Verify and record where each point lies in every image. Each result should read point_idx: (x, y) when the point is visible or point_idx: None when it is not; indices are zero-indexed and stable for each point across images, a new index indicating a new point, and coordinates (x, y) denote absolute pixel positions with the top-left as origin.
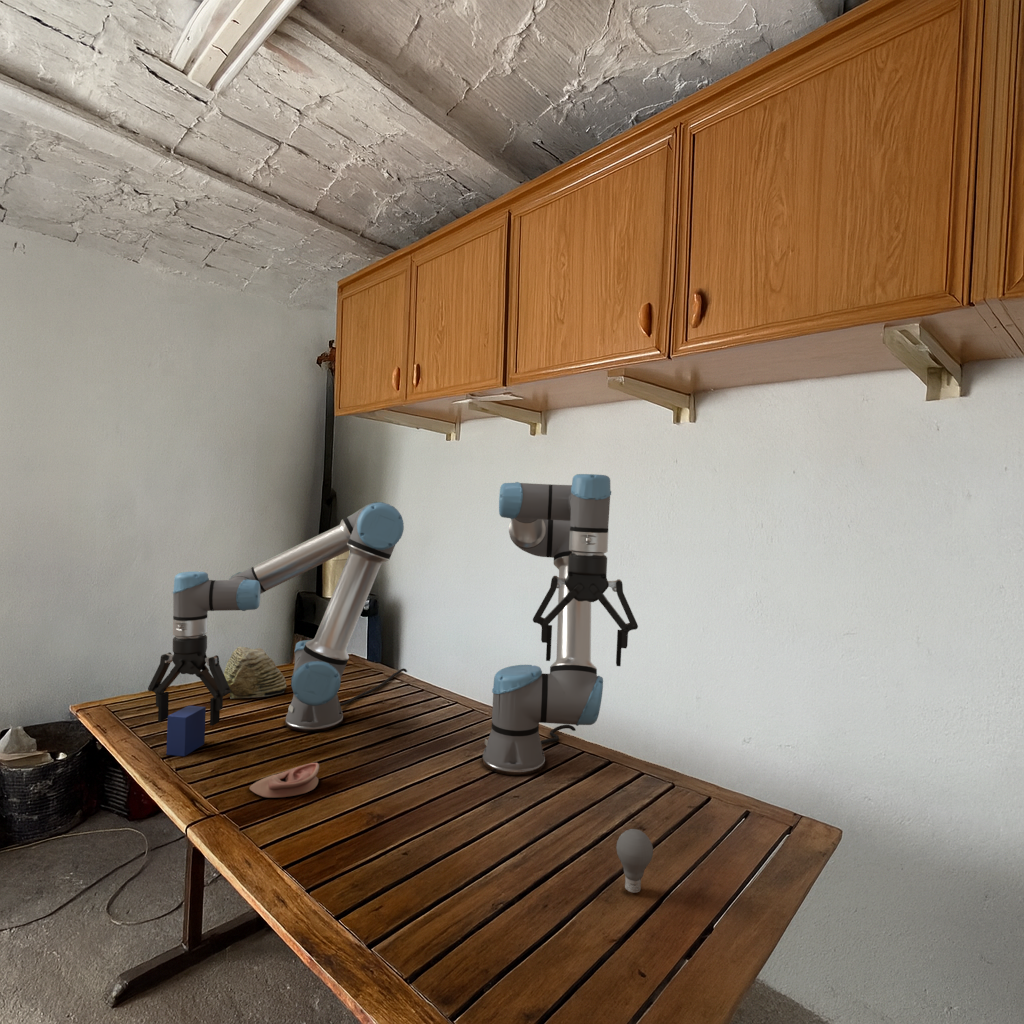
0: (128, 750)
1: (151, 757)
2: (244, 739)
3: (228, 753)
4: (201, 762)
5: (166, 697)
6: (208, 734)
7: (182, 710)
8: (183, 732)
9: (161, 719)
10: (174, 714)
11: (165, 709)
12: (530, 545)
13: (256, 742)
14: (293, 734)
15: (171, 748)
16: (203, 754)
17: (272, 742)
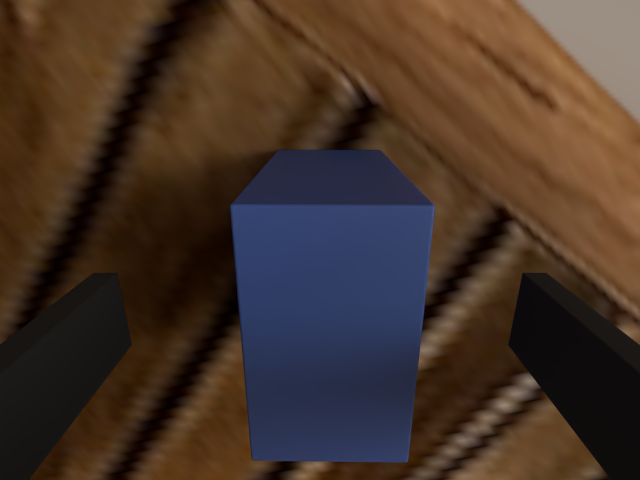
0: (604, 158)
1: (436, 101)
2: (153, 379)
3: (105, 232)
4: (146, 102)
5: (635, 469)
6: None
7: (384, 360)
8: (271, 175)
9: (529, 284)
10: (391, 255)
11: (557, 365)
12: None
13: None
14: None
15: (355, 155)
16: (207, 196)
17: None
